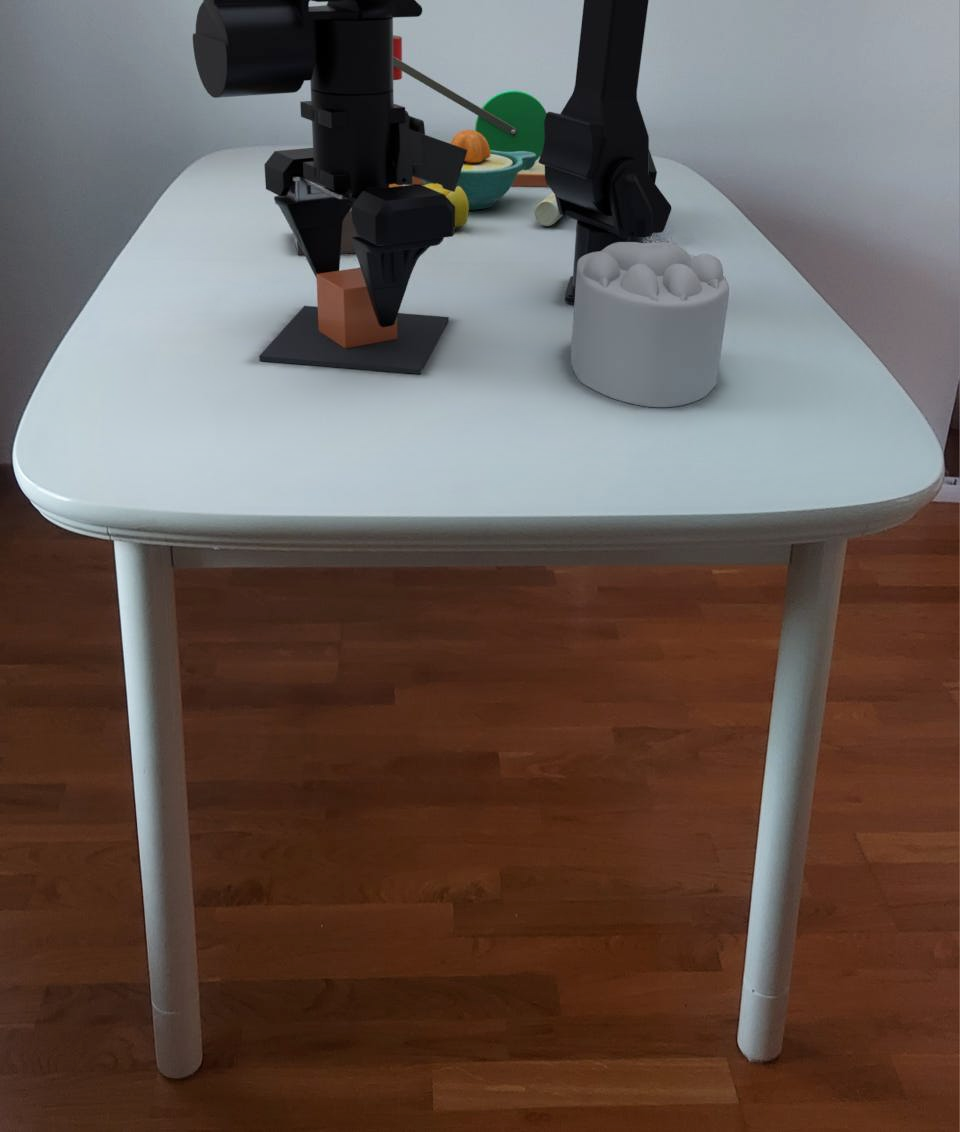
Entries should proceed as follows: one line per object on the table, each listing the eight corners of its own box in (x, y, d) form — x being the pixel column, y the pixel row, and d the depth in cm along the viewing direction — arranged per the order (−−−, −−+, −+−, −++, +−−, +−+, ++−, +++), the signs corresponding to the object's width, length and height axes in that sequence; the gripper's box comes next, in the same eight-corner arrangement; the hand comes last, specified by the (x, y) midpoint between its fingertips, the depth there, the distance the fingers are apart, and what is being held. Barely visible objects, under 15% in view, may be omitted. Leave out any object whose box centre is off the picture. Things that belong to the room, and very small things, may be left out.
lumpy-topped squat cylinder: (694, 343, 92) (709, 232, 88) (735, 407, 81) (754, 284, 77) (563, 342, 91) (571, 230, 87) (586, 406, 80) (596, 282, 76)
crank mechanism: (359, 183, 137) (356, 0, 127) (361, 170, 142) (358, -6, 132) (573, 187, 138) (585, 6, 128) (566, 174, 144) (577, 0, 134)
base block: (372, 253, 111) (371, 210, 109) (297, 254, 110) (295, 211, 108) (363, 233, 117) (362, 192, 115) (293, 235, 116) (290, 194, 114)
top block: (397, 339, 90) (397, 281, 87) (345, 348, 88) (343, 289, 85) (369, 322, 93) (368, 265, 91) (318, 331, 91) (315, 273, 89)
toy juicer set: (330, 232, 118) (327, 151, 114) (340, 189, 133) (338, 117, 129) (614, 236, 119) (621, 157, 115) (591, 194, 135) (596, 123, 131)
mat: (420, 374, 85) (420, 369, 84) (259, 360, 86) (258, 355, 86) (448, 321, 95) (448, 316, 95) (304, 310, 96) (304, 305, 96)
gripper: (524, 102, 79) (514, 327, 86) (388, 65, 92) (389, 263, 100) (378, 114, 73) (381, 353, 81) (255, 72, 86) (268, 281, 94)
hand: (357, 308), depth 89 cm, fingers open, 9 cm apart
